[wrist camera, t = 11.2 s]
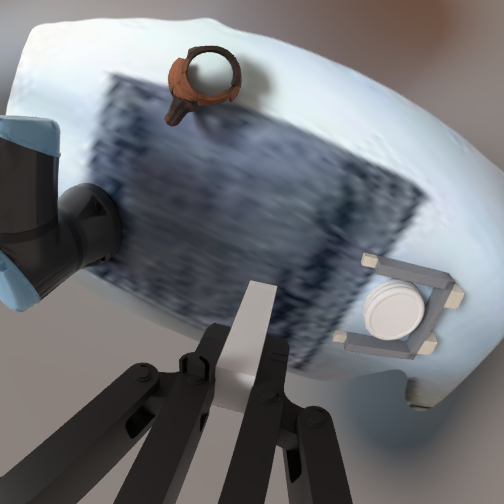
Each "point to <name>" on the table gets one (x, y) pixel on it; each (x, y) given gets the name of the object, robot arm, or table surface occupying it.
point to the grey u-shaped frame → (422, 336)
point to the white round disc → (393, 309)
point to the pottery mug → (186, 93)
